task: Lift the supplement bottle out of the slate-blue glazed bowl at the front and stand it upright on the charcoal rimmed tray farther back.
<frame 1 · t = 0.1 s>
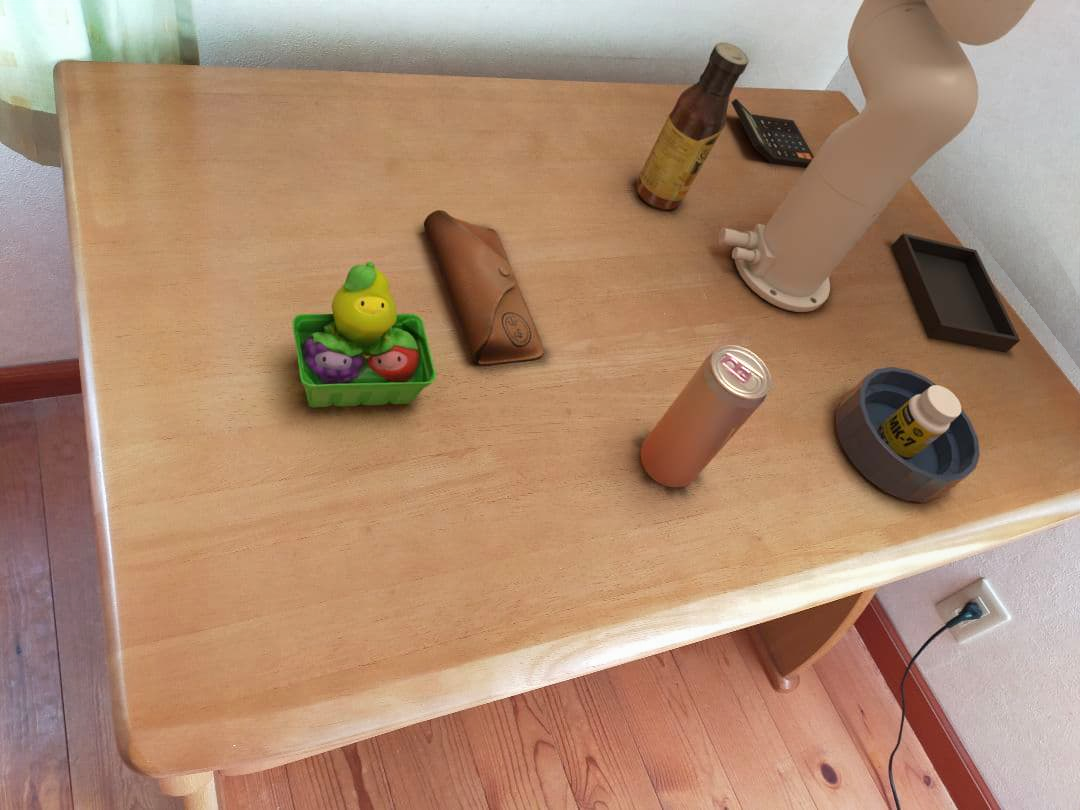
sunglasses case: (480, 294, 90), on the table
bowl: (890, 446, 96), on the table
calculator: (768, 143, 125), on the table
beverage can: (665, 464, 85), on the table
supplement bottle: (892, 445, 96), resting on bowl
tray: (947, 297, 116), on the table
sauce bottle: (656, 195, 109), on the table
fruit basket: (354, 378, 79), on the table
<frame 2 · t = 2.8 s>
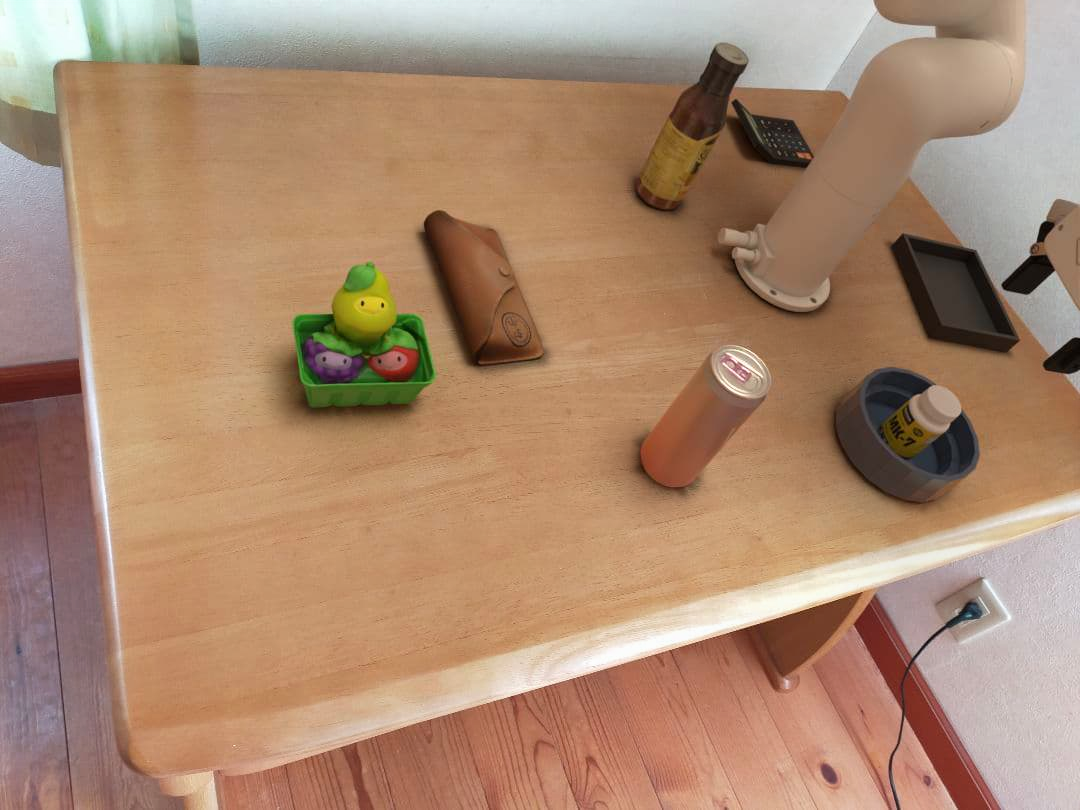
hand: (1033, 328, 82), 20 cm above the table, tool pointing down, fingers open, 9 cm apart
nothing on the table moved.
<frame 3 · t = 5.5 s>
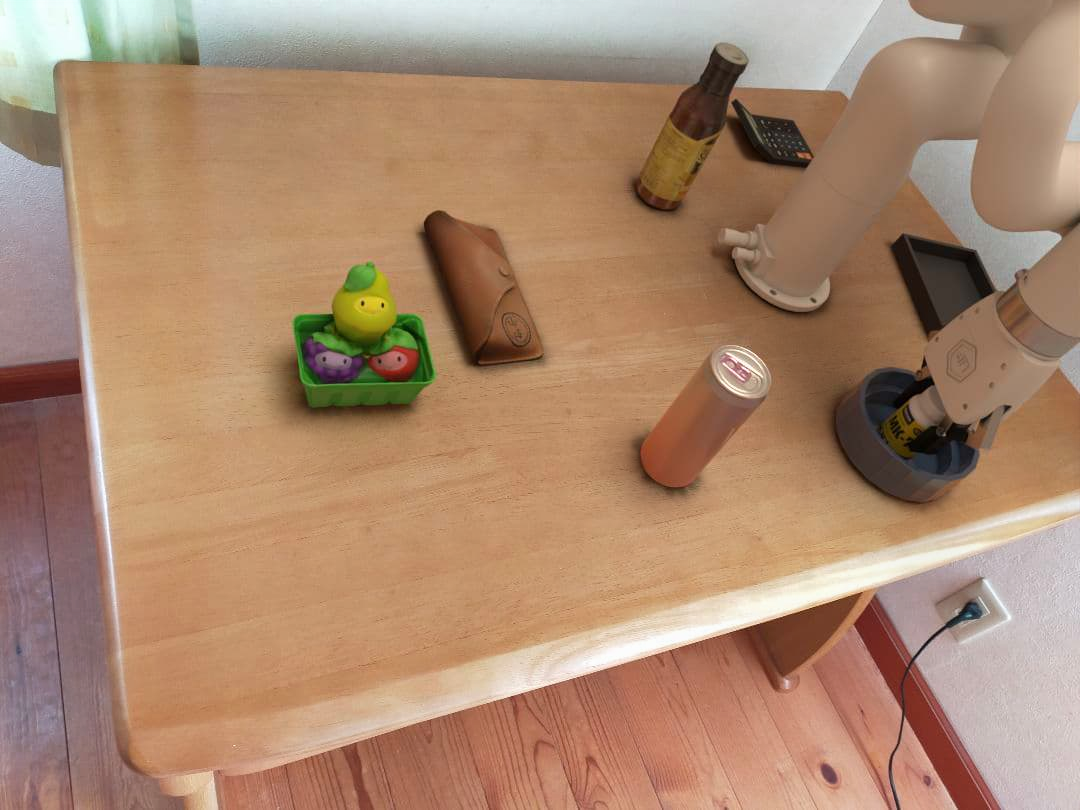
hand: (912, 427, 93), 4 cm above the table, tool pointing down, fingers closed on supplement bottle, 4 cm apart
supplement bottle: (892, 445, 96), resting on bowl, touching gripper
everything else where it was.
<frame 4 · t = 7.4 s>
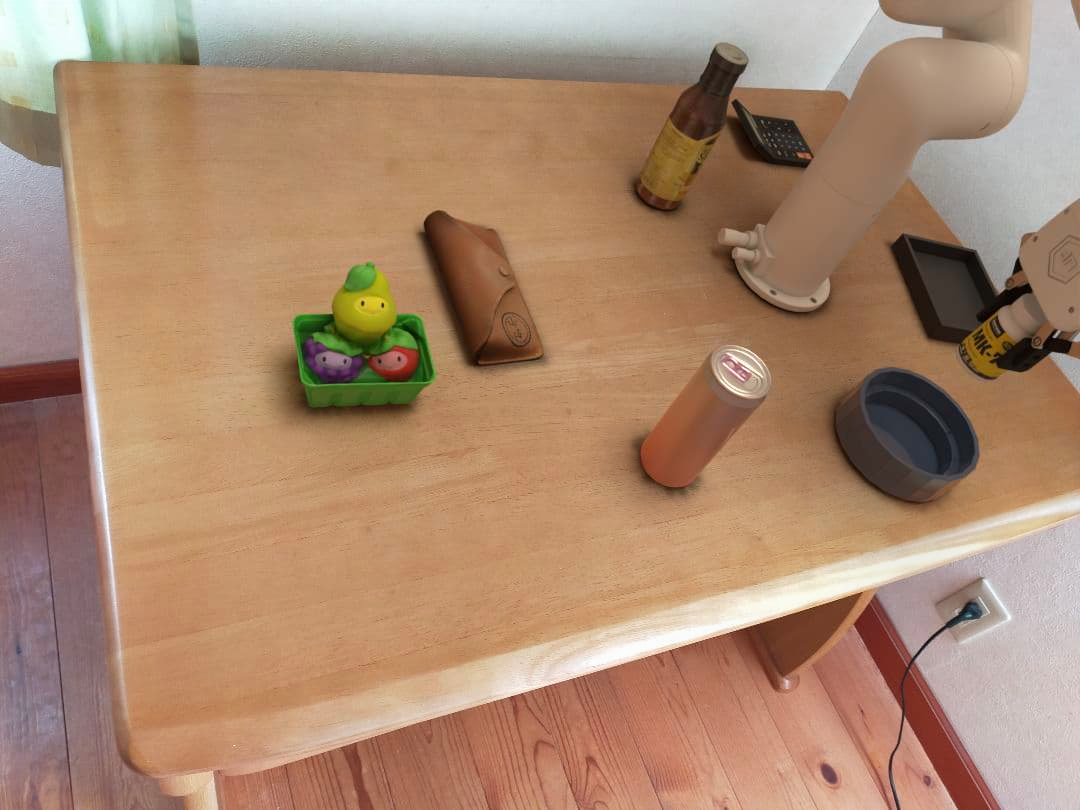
hand: (999, 343, 84), 17 cm above the table, tool pointing down, fingers closed on supplement bottle, 4 cm apart
supplement bottle: (973, 364, 86), point 14 cm above the table, touching gripper
everything else where it was.
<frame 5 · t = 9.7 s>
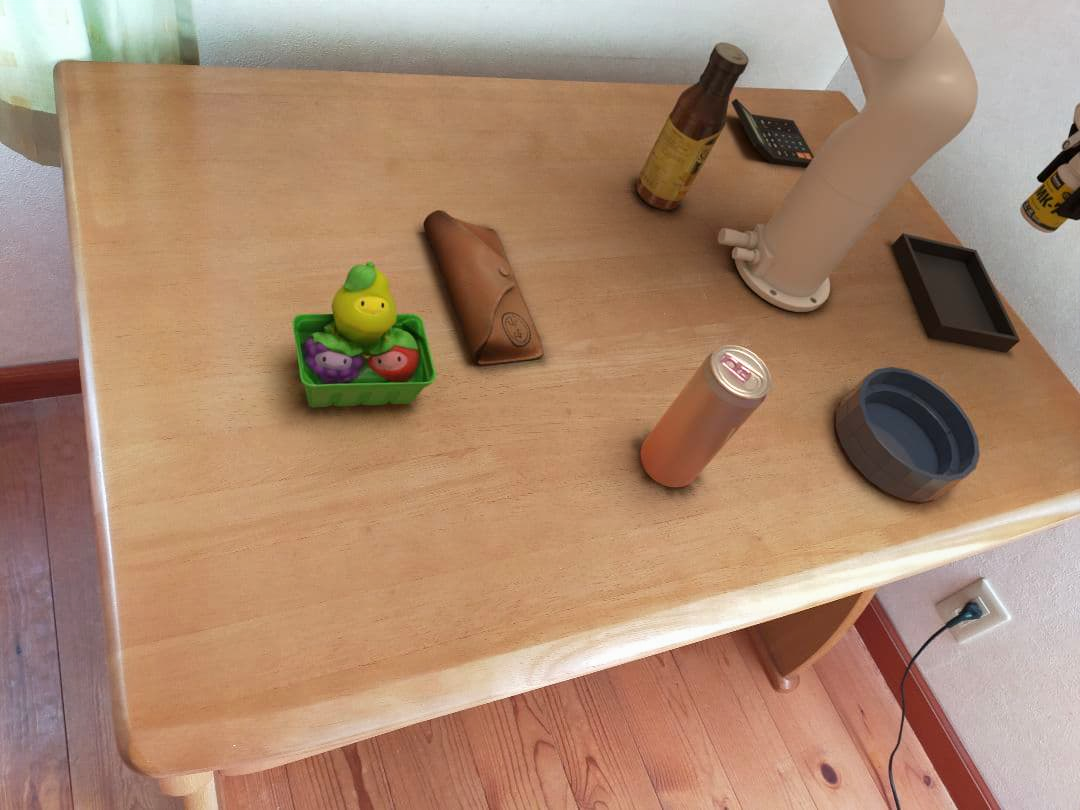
hand: (1057, 198, 99), 20 cm above the table, tool pointing down, fingers closed on supplement bottle, 4 cm apart
supplement bottle: (1035, 220, 102), point 16 cm above the table, touching gripper
everything else where it was.
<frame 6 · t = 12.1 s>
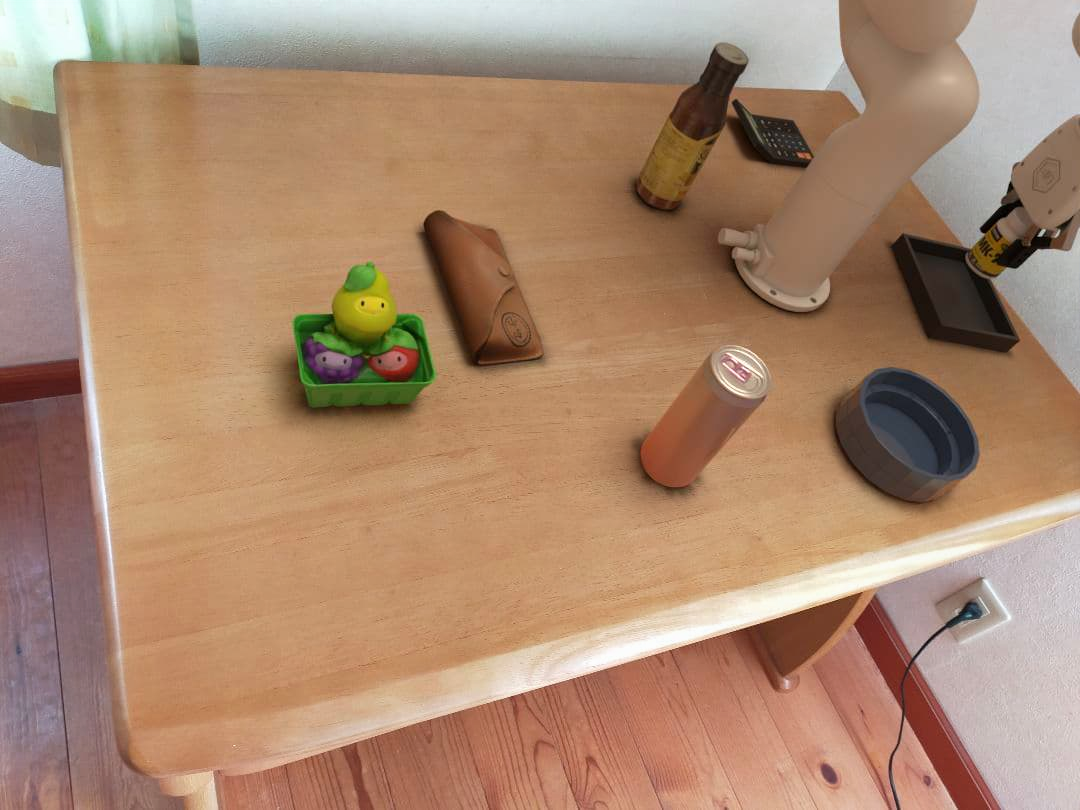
hand: (998, 248, 109), 9 cm above the table, tool pointing down, fingers closed on supplement bottle, 4 cm apart
supplement bottle: (979, 267, 112), point 6 cm above the table, touching gripper
everything else where it was.
when the fingers open (4 cm above the table, at t = 13.9 s): supplement bottle stays where it is, resting on tray.
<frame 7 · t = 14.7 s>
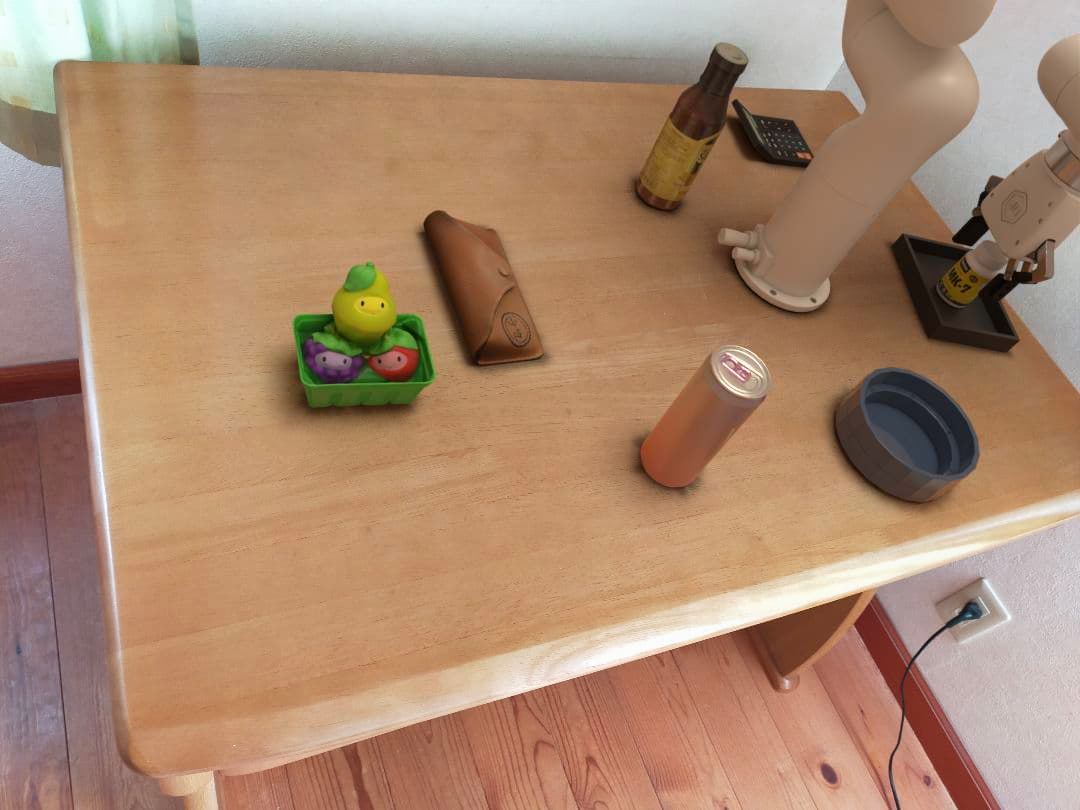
hand: (973, 270, 112), 5 cm above the table, tool pointing down, fingers open, 9 cm apart
supplement bottle: (949, 296, 116), resting on tray
everything else where it was.
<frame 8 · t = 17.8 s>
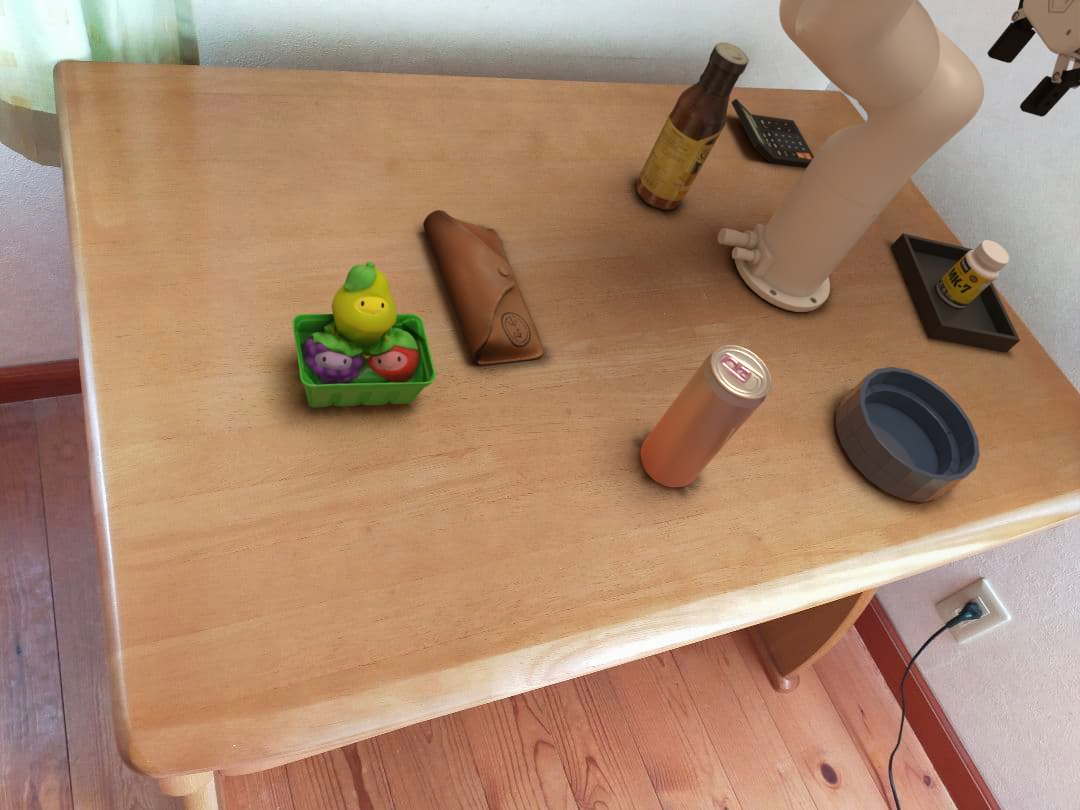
hand: (1014, 84, 97), 26 cm above the table, tool pointing down, fingers open, 9 cm apart
nothing on the table moved.
at the end: supplement bottle inside the target area in the tray (0.2 cm from its centre), point 0.3 cm above the tray's base; supplement bottle tilted 0°; the gripper is holding nothing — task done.
